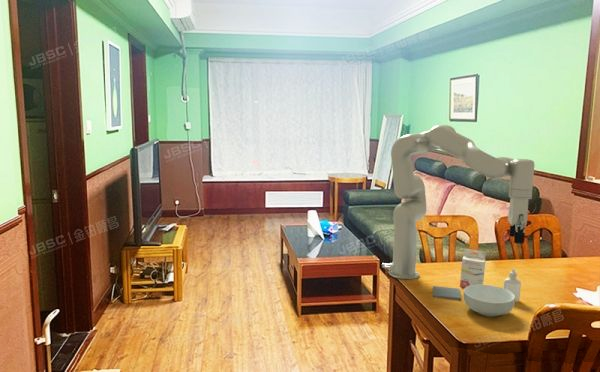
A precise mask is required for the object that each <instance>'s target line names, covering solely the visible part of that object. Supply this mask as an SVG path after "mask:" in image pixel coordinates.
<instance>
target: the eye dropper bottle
mask: <svg viewBox="0 0 600 372" xmlns="http://www.w3.org/2000/svg"><path fill="white" fill-rule="evenodd" d="M517 274H518V273H517V272H516V270H515V269H514V268H512V269H511V271H510V272H509V276H508V277H507V278H505V279H504V280H503V286H502V288H504V289H506V290H509V291H510V292H512V293H513V294H514V295H515V303H517V302H519V301H520V298H521V287H522V286H521V285H522V283H521V280H520V279H518V278H517Z"/></svg>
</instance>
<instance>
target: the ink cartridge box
mask: <svg viewBox="0 0 600 372" xmlns="http://www.w3.org/2000/svg"><path fill="white" fill-rule="evenodd" d="M463 250H464V251H463V257H462V261H461V270H460V283H459V287H460V288H464V289H465V288H466V287H467V286H470V285H484V282H485V281H484V280H485V279H484V278H485V270H486V251H483V250H477V249H468V248H464V249H463ZM474 253H476V254H474Z"/></svg>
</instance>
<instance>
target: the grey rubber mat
mask: <svg viewBox="0 0 600 372" xmlns="http://www.w3.org/2000/svg"><path fill="white" fill-rule="evenodd" d="M461 295H462V294H461V290H460V288H455V287H447V286H446V287H445V286H436V285H432V298H436V299H437V298H439V299H448V300H456V301H461V300H462V296H461Z"/></svg>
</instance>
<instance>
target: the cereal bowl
mask: <svg viewBox="0 0 600 372" xmlns="http://www.w3.org/2000/svg"><path fill="white" fill-rule="evenodd" d="M463 300H464V303H465V304H466V306H467V307H468V308H469V309H471V311H473V312H476V313H477V314H479V315H481V316H484V317H491V318H492V317H499V316H502V315H506V314H509V312H511V311H512V310H513V308H514V306H515V303H516V302H515V295H514V294H513V293H512V292H510V291H509V290H506V289H504V288H503V287H500V286H495V285H491V284H483V285H470V286H467V287H466V288H465V287H464V289H463Z"/></svg>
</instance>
